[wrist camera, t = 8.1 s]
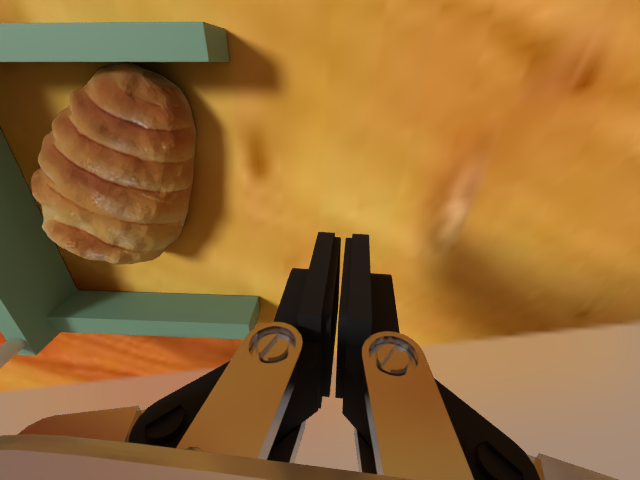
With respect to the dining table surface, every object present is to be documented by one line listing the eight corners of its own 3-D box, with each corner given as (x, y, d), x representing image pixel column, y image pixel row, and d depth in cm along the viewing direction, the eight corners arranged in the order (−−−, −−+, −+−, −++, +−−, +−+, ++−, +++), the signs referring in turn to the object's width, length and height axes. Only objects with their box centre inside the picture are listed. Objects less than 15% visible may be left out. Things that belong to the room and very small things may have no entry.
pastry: (91, 27, 14) (11, 16, 10) (235, 112, 15) (206, 127, 12) (62, 200, 18) (-1, 233, 14) (176, 254, 19) (143, 294, 16)
